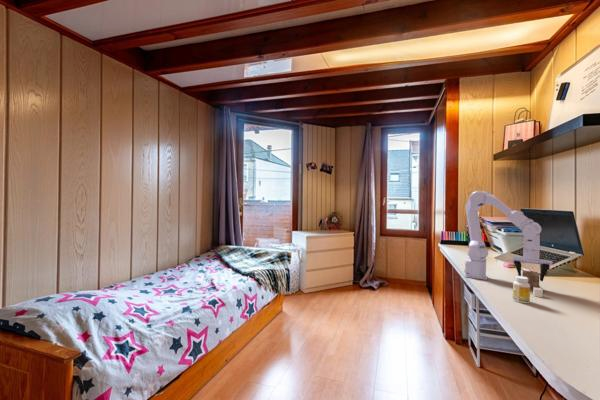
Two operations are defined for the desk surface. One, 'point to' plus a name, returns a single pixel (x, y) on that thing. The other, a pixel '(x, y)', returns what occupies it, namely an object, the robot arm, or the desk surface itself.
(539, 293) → the off-white cube
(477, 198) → the robot arm
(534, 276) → the brown rectangular block
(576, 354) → the desk surface
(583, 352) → the desk surface
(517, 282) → the supplement bottle
